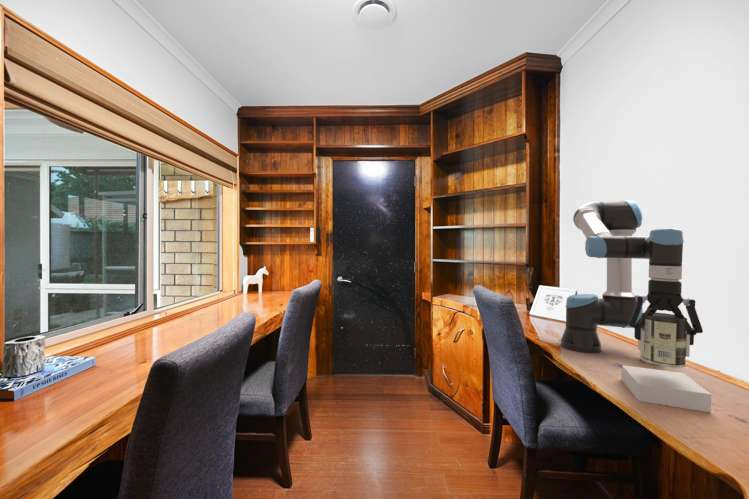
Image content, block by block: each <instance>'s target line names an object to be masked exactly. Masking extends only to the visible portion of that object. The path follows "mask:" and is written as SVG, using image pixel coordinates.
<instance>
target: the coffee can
mask: <svg viewBox="0 0 749 499" xmlns="http://www.w3.org/2000/svg"><path fill="white" fill-rule="evenodd" d="M642 316H643V317H645V325H644V326H643V328H642V329H643V330H644V331H645V334H644V352H642V355H641V358H642V359H643V360H644V361H647V362H649V363H648V364H650V363H652V364H651V365H654V364H656V366H661V367H666V368H673V369H674V368H677V369H679V368H680V369H681V368H686V367H687V365H686V358H687V357H686V321H688V318H687V317H685V318H678V317H676V316H675V315H674V313H666V312H665V313H664V312H655V313H654V314H653V315H652V316H649V315H645V314H644V312H643V313H642ZM644 361H643V362H644Z"/></svg>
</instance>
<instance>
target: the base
mask: <svg viewBox="0 0 749 499" xmlns="http://www.w3.org/2000/svg"><path fill="white" fill-rule="evenodd" d="M621 381H622V383H623V384H624V385H625V386H626V388H627V389H628V390H629V391H630V392H631V394H632V396H634V397H635V399H636V400H637V402H642V403H647V404H654V405H660V404H661V406H666V405H668V407H674V408H679V407H680V409H684V410H685V409H686V410H692V411H693V410H694V411H699V412H706V413H711V412H712V394H711V393H710V392H709V391H708V390H706V389H705V388H704V387H702V386H701V385H700V384H698V382H695V381H694V380H693V379H692V378H690V377H689V376H688V375H686V374H685V373H684V372H677V371H670V370H662V369H654V368H645V367H638V366H630V365H625V364H624V365H623V364H622V365H621Z"/></svg>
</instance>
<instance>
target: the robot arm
mask: <svg viewBox="0 0 749 499" xmlns="http://www.w3.org/2000/svg"><path fill="white" fill-rule="evenodd" d="M572 220H573V223H574V225H575V227H576V228H577V229H578V230H579V231H582V233H583V235H584V236H585V238H586V240H585V243H584V244H585V245H584V246H585V247H584V249H585V255H586V256H587V257H589V258H596V259H597V258H598V259H606V290H605V292H604V293H602V298H601V297H598V295H596V294H594V293H593V294H591V293H590V294H589V293H582V294H581V293H579V294H572V295H569V296H568V297H566V303H565V329H564V330H563V332H562V336H561V339H560V345H561V346H562V347H563V348H564V349H565V348H566V349H568V350H571V351H576V352H580V353H581V352H582V353H590V354H591V353H593V354H595V353H600V352H601V351H602V343H601V341H600V338H599V334H598V332H597V331H598V328H597V327H598V326H604V327H605V326H606V327H615V328H622V329H625V328H626V329H627V328H628V329H634V333H633V334H634V335H633V336H634V339H635V340H637V350H639V351H640V353H641V352H644V334H645V331H644V330H643V329H642V328H643V326H644V325H645V317H643V316H642V313H644V314H645V315H649V316H652V315H653V314H654V313H657V311H661V312H663V311H667V312H672V314H673V315H675V316H676V317H678V318H686V317H685V315H684V314H683V312H682V310H681V309H680V308H679V306H680V305H681V304H682V303H683V305H684V306H685V308H686V312H687V314H688V317H689V320H690V323H691V324H690V323H689V322H688V320H687V321H686V358H687V357H688V358H690V348H691V346H693V345H694V343H695V336H696V335H697V334H702V333H703V332H704V330H703V326H702V324H701V322H700V318H699V315H698V312H697V310H696V300H695V299H693V298H689V297H688V298H683V296H682V284H683V283H682V282H681V281H680V280H682V279H683V278H682V276H683V273H682V272H683V250H684V249H683V248H684V235H683V231H682V229H680V228H653V229H650V232H649V235H645V236H644V235H640V236H639V235H634V234H635V233H636V232H637V228H640V227H641V226H642V221H643V212H642V208H641V207H640V205H639V203H638V202H636V201H635V200H625V199H623V200H607V201H605V200H604V201H603V200H602V201H601V200H600V201H591V202H588V203H587V202H586V203H585V204H583V205H581V206H580V207H579V208H578V209H577V210H576V211H575V212H574V214H573V217H572ZM632 259H641V260H642V259H644V260H648V278H649V280H648V286H647V287H648V288H647V295H646V296H645V295H643V296H642V295H641V296H640V295H635V294H634V293H633V290H632V289H633V288H632V285H633V284H632V282H633V281H632V277H633V276H632V275H633V274H632V272H633V269H632V264H633V263H632V262H633V261H632ZM646 301H647V302H648V303H649V305H648V307H647V308H646V310H645V311H644V312H643V309H644V308H643V305H644V304H645V303H646Z"/></svg>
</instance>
